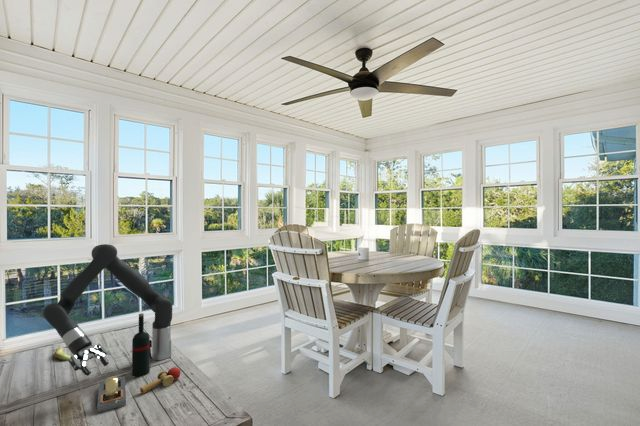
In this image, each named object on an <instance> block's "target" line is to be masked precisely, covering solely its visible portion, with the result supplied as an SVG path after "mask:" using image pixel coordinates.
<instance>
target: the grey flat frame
mask: <svg viewBox="0 0 640 426" xmlns="http://www.w3.org/2000/svg"><path fill="white" fill-rule="evenodd" d="M105 389H106V380H104V381H100V382H99V385H98V396H97V403H96V405H97V406H96V413H97V414H100V413H103V412H107V411H111V410H114V409H118V408H121V407H125V406H127V396H126V395H127V393H126V377H125V376H122V377H118V398H115V399H112V400H108V401H105Z"/></svg>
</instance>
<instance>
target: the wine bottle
mask: <svg viewBox="0 0 640 426" xmlns="http://www.w3.org/2000/svg"><path fill="white" fill-rule="evenodd" d="M144 315H145V314H144V313H138V332H137V333H135V334H134V336H133V337H132V341H131V344H132V345H131V346H132V347H131V348H132V349H131V351H132V352H131V376H132V377H133V376H134V378H139V377H140V376H141V377H145V376H146V375H148V374H149V373H150V371H151V370H150V369H151V368H150V367H151V364H150V363H151V362H150V361H151V360H153V359H152V339H151V338H150V335H149V333H147V332H146V331H144V329H145V328H144V327H145V326H144V323H145V322H144V320H145V319H144V318H145V316H144ZM150 359H151V360H150Z"/></svg>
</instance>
